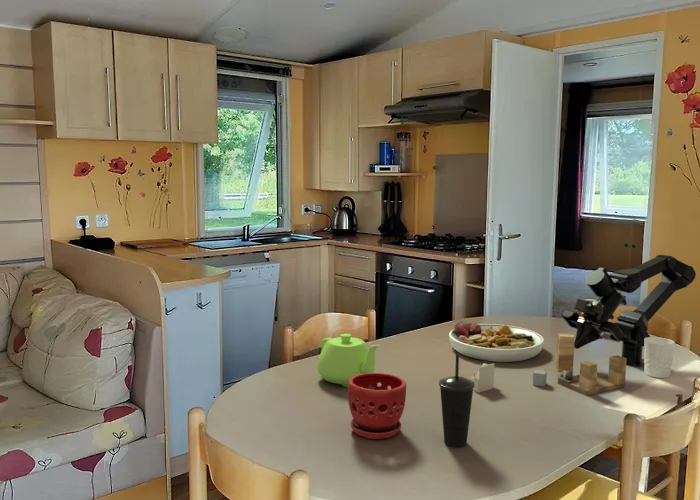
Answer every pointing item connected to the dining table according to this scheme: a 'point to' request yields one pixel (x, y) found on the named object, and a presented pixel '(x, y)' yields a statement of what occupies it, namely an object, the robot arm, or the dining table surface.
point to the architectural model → (484, 378)
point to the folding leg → (565, 354)
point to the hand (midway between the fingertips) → (575, 347)
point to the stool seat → (597, 377)
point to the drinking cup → (456, 407)
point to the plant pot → (376, 404)
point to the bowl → (495, 342)
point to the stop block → (539, 378)
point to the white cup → (658, 356)
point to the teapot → (345, 359)
